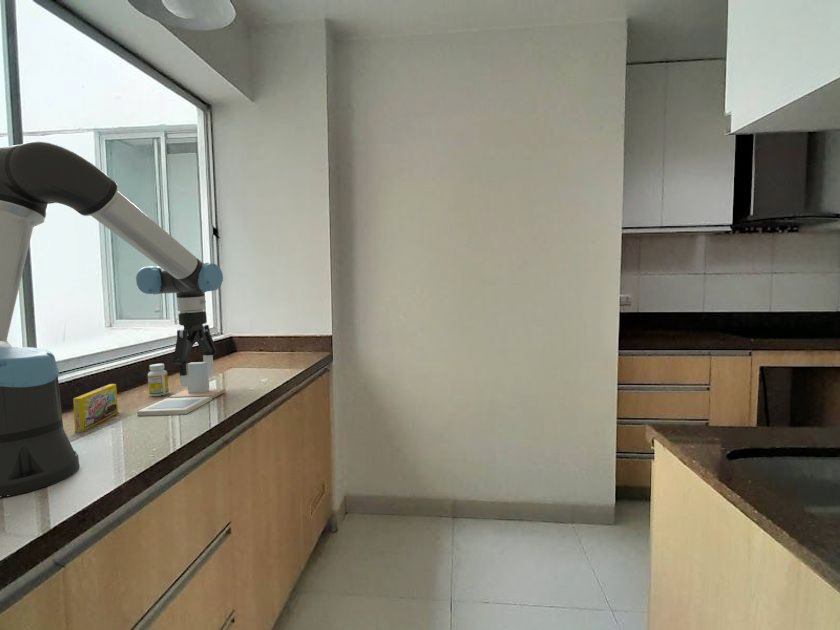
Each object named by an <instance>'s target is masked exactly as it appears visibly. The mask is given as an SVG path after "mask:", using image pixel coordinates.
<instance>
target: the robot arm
mask: <svg viewBox="0 0 840 630" xmlns="http://www.w3.org/2000/svg"><path fill="white" fill-rule="evenodd" d="M50 204H60V205H64V206H66V207H69V208H71V209H73V210H74V211H75V212H77V213H79V214H80V215H81V216H85V217H90V216H91V217H92V218H93V219H95V221H97V222H99V223H100V224H101V225H103V226H104V227H106V228H107V229H108V230H109V231H111V232H112V233H114V234H115V235H116V236H118V237H119V239H120V238H121V239H122V240H123V241H124V242H125V243H127V244H129V245H130V246H131V247H133V248H134V249H136V250H137V251H138V252H139V253H141V254H142V255H143V256H144V257H146V258H147V259H149V260H150V261H151V262H153V263H154V264H155V265H157V266H155V265H151V266H144V267H142V268H140V269H139V270H138V271H137V273H136V276H135V280H136V281H135V282H136V286H137V287H138V289H139V291H140V292H142V293H144V294H146V295H160V294H175V295H176V304H177V305H176V306H177V311H178V312H179V313H178V314H177V315H178V324H179V326H183V329H177V331H176V343H175V346H174V354H173V359H172V363H173V365H175V366H176V365H178V371H179V373H178V374H179V380H180V387H188V386H191V376H190V365H189V364H188V362H189V358H190V356H191V353H192V349H193V346H194V345H196V344H198V346H199V348H200V349H201V351H202V353H203V354H204V355H202V359H203V360H202V362H207V368H208V377H211V376H212V377H213V376H215V369H214V368H215V367H214V359H213V358H214V357H213V356H214V355H216V354H217V348H216V345H215V342H214V340H213V336H212V334H211V331H210V326H209V324H207V323H208V321H207V312H206V311H205V310H206V302H207V301H206V299H205V293H206V292H207V293H208V292H214V291H217V290H219V289H220V288H221V286H222V284H223V281H224V275H223V271H222V269H221V267H220V266H219V265H218V264H215V263H209V262H202V261H201V260H200V259H199V258H197V257H196V256H195V255H194V254H193V253H192V252H190V250H188V249H187V248H186V247H185V246H183V245H182V244H181V243H180V242H178V240H177V239H175V238H174V237H173V236H172V235H171V234H169V233H168V232H167V231H166V230H164V228H162V227H161V226H160V225H159V224H158V223H156V222H155V221H154V220H153V219H152V218H150V217H149V216H148V215H147V214H146V213H145V212H144V211H142V210H141V209H140V208H139V207H137V206H136V204H135V203H133V202H132V201H131V200H129V199H128V198H127V197H126V196H125V195H124V194H122V193H121V192H120V191H119V185H118V184H117V182H115V180H114V179H112V178H111V177H110V176H109V175H107V174H106V173H105V172H104V171H102V170H101V169H100V168H99V167H97V166H96V165H94V164H93V163H92V162H90V161H88V160H87V159H85V158H84V157H82V156H80V155H78V154H77V153H75V152H74V151H72V150H69V149H68V148H65V147H63V146H60V145H58V144H55V143H51V142H45V141H28V142H24V143H20V144H15V145H13V144H12V145H9V146H4V147H0V496H7V495H12V496H15V495H14V494H17V495H20V494H24V493H30V492H31V491H32V492H33V491H35V490H36V491H37V490H40V489H43V488H45V487H48V486H50V485H53V484H56V483H59V482H61V481H62V480H65V479H66V478H69V477H70V476H72V475H73V474H75V473H76V472H78V470H79V469H80V459H79V454H78V453H77V451H76V450H74V448H73V446H72V443H71V442H70V439H69V437H68V436H67V433H66V431H65V429H64V422H63V414H62V403H61V393H60V383H59V374H60V373H59V368H58V365H57V360H56V357H55V355H54V354H53V353H52V352H51V351H49V350H47V349H45V348H38V347H31V346H29V347H28V346H23V347H17V346H15V347H13V346H12V345H11V344H10V343H9V342H8V336H9V332H10V328H11V324H12V319H13V314H14V311H15V307H16V302H17V298H18V293H19V290H20V287H21V282H22V281H21V280H22V278H23V273H24V269H25V264H26V261H27V257H28V256H27V254H28V252H29V247H30V244H31V243H30V242H31V238H32V235H33V230H34V227H36V226H39V225H42V224H43V223H45V221H46V216H47V212H48V208H49V205H50ZM7 497H8V496H7Z"/></svg>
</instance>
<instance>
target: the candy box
mask: <svg viewBox="0 0 840 630" xmlns="http://www.w3.org/2000/svg"><path fill="white" fill-rule="evenodd" d="M72 400H73V401H72V402H73V419H74V433H81V432H85V431H86V430H88V429H90V428H92V427H94V426H96V425H97V424H99V423H102V422H103V421H105V420H107V419H110V418H111V417H112V416H114V415H116V414H118V413H119V409H118V407H119V405H118V389H117V384H116V383H109V384H107V385H104V386H101V387H100V388H99V387H98V388H97V389H94V390H91V391H89V392H87V393H84V394H81V395H79V396H77V397H73V399H72Z"/></svg>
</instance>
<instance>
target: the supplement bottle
mask: <svg viewBox="0 0 840 630" xmlns="http://www.w3.org/2000/svg"><path fill="white" fill-rule="evenodd" d="M149 370H150V371H148V373H147V382H148V383H147V384H148V392H149V393H148V394H149V396H150V397H152V396H156V397H162V396H161V395H163V396H166V395H168V394H169V391H170V389H169V377H168V371H167V370H166V369H165V364H164V363H155V364H154V363H153V364H150V365H149ZM165 394H166V395H165Z"/></svg>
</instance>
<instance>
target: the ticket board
mask: <svg viewBox="0 0 840 630" xmlns="http://www.w3.org/2000/svg"><path fill="white" fill-rule="evenodd" d="M212 400H213V399H212V396H183V397H170V396H168V397H166V398H164V399H162V400H160V401H156V403H153V404H150V405H148V406H146V407H143V408H142V409H140V410H137V411H136V413H137V416H138V417H142V416H166V415H168V416H169V415H174V416H175V415H176V416H177V415H186V414H188V413H190V412H192V411H195V410H196V409H197V408H199V407H202V406H204V405H205V404H207V403H208V402H211V401H212Z"/></svg>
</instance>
